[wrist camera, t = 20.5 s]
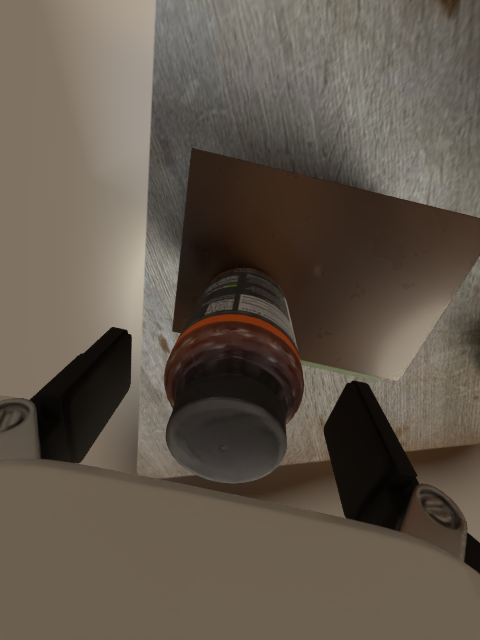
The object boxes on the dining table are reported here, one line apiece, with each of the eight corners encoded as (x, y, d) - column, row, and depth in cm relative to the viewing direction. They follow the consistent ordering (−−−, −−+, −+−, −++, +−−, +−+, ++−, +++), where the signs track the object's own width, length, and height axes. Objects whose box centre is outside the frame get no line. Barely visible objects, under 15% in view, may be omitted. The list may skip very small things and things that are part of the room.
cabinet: (207, 275, 32) (171, 331, 20) (224, 165, 27) (191, 147, 14) (347, 308, 33) (398, 382, 20) (392, 206, 27) (501, 223, 15)
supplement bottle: (243, 355, 20) (224, 520, 10) (185, 304, 19) (95, 440, 9) (305, 308, 18) (357, 459, 8) (245, 245, 16) (218, 336, 6)
